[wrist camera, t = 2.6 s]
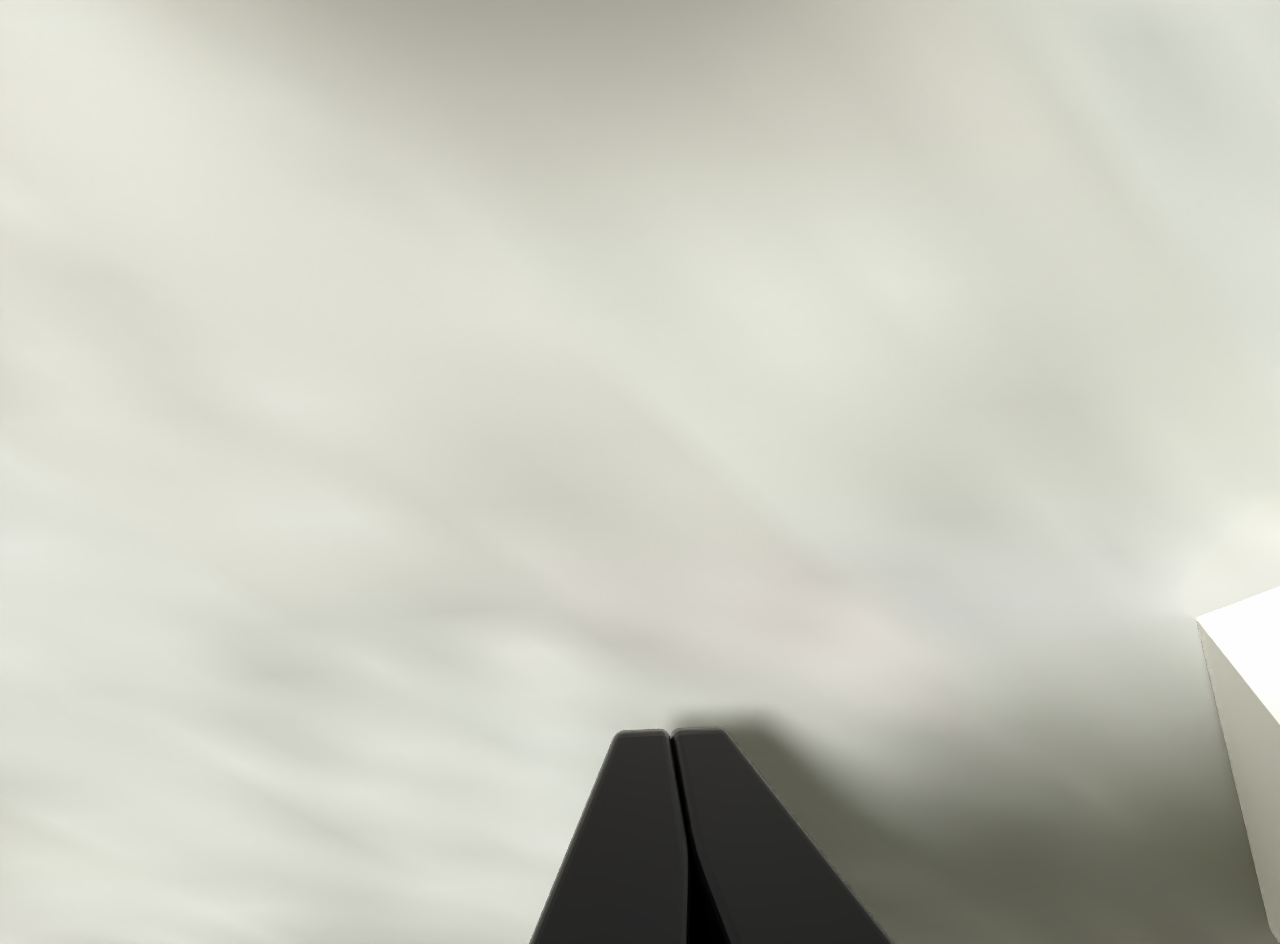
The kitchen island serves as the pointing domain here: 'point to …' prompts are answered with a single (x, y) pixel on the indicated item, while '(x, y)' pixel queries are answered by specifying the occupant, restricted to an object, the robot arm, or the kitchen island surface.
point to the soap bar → (1251, 723)
